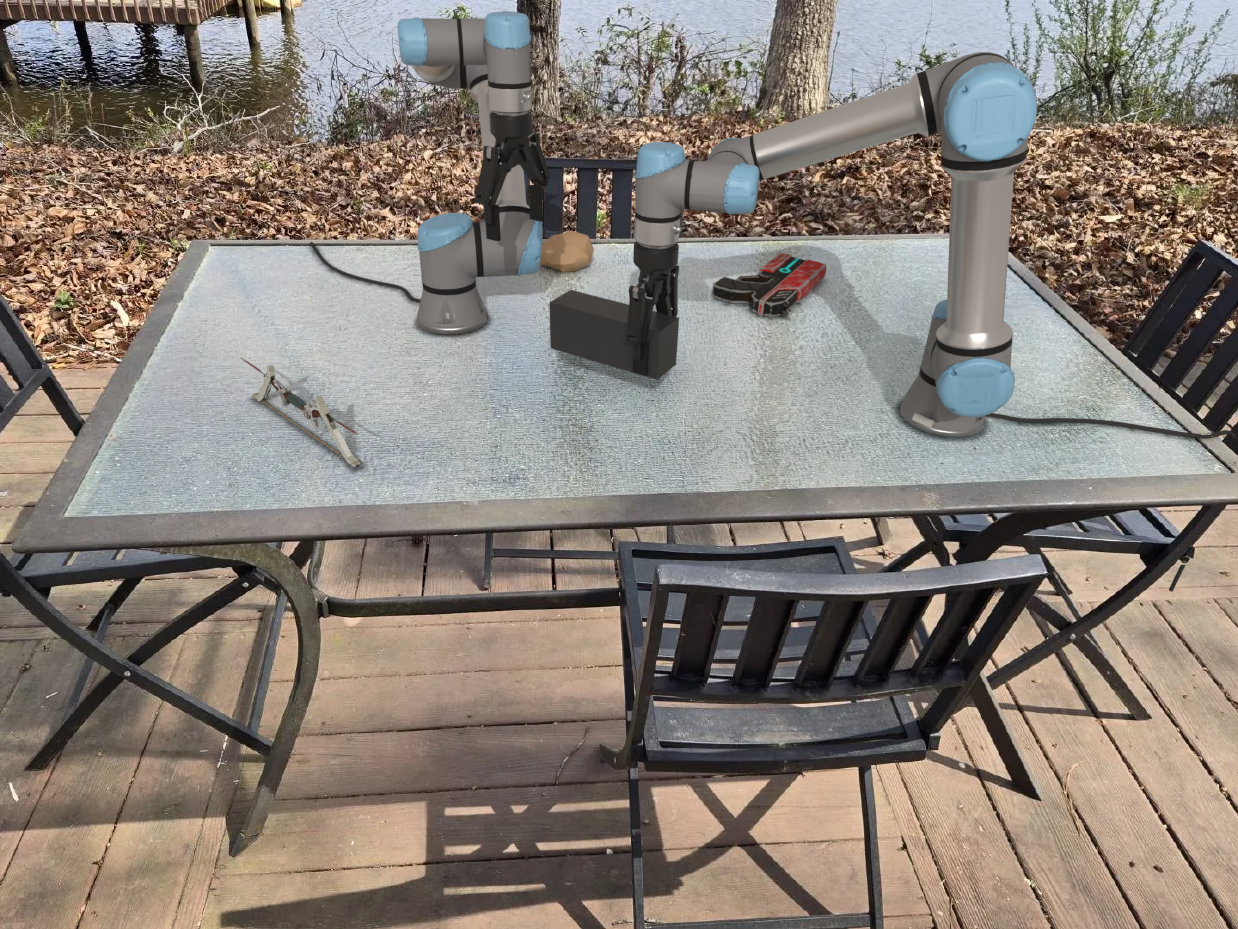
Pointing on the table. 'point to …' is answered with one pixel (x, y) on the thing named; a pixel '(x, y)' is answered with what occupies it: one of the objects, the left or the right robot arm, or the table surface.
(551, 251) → the squash
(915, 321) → the table surface
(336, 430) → the bow
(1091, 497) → the table surface
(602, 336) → the box
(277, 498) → the table surface
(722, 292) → the gun
